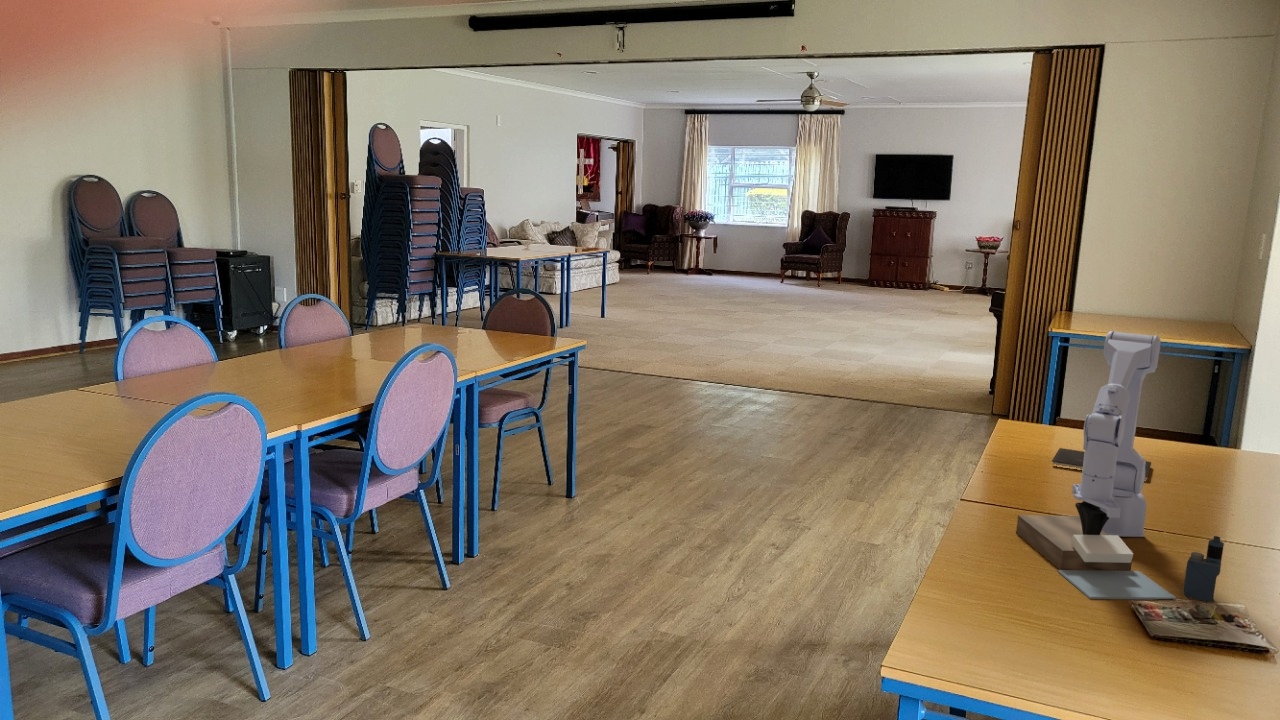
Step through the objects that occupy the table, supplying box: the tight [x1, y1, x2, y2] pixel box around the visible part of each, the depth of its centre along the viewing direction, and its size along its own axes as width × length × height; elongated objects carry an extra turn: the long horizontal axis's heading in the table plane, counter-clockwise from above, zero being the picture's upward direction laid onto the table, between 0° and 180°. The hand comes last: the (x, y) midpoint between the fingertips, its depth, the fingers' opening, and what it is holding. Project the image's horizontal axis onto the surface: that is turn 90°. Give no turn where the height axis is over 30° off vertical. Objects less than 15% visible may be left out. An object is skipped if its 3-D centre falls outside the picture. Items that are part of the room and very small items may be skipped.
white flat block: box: [1071, 535, 1134, 563], centre depth 182 cm, size 9×6×2 cm, turn 92°
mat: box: [1057, 569, 1177, 601], centre depth 176 cm, size 16×12×1 cm
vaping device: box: [1182, 535, 1225, 603], centre depth 171 cm, size 3×5×12 cm, turn 58°
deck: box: [1015, 514, 1134, 571], centre depth 193 cm, size 14×20×4 cm
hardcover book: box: [1051, 447, 1152, 481], centre depth 254 cm, size 16×23×2 cm
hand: (1090, 540), depth 185 cm, fingers closed
